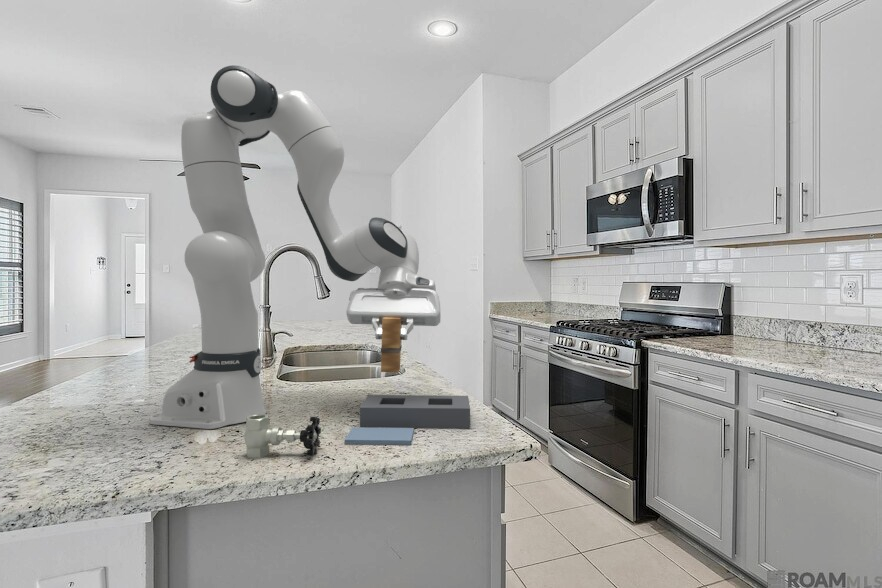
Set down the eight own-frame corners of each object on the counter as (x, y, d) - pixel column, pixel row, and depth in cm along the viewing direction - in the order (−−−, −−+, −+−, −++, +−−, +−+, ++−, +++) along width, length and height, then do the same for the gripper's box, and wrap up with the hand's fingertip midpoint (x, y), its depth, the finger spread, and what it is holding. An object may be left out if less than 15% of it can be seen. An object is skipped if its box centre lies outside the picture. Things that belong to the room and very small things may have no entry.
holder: (359, 427, 95) (359, 407, 95) (368, 412, 105) (368, 394, 105) (470, 428, 95) (470, 408, 95) (467, 413, 105) (468, 395, 105)
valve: (237, 462, 77) (311, 462, 78) (237, 422, 77) (311, 422, 77) (252, 448, 84) (321, 448, 84) (252, 411, 84) (321, 411, 84)
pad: (344, 444, 86) (344, 439, 86) (352, 431, 93) (352, 427, 93) (411, 444, 85) (411, 440, 85) (413, 432, 92) (413, 427, 92)
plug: (380, 372, 98) (381, 318, 97) (382, 368, 101) (384, 317, 101) (398, 372, 98) (400, 319, 97) (400, 369, 101) (402, 317, 101)
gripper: (349, 278, 106) (338, 327, 96) (441, 280, 106) (439, 329, 96) (353, 297, 110) (343, 345, 101) (441, 299, 110) (439, 348, 101)
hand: (391, 338), depth 99 cm, fingers closed on plug, 4 cm apart
